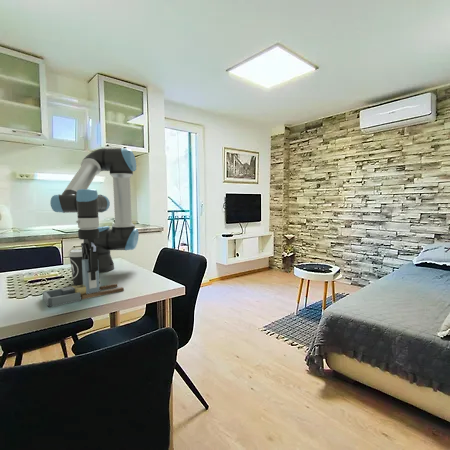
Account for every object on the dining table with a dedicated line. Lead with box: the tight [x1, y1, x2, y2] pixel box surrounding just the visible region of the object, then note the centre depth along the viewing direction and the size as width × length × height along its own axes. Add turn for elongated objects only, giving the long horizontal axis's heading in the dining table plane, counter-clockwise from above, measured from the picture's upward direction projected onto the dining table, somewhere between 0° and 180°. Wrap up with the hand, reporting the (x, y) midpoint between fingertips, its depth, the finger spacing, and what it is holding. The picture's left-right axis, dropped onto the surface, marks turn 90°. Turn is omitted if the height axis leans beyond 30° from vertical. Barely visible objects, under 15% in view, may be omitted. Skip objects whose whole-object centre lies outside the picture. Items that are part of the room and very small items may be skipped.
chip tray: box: [42, 287, 82, 308], centre depth 111 cm, size 11×10×3 cm
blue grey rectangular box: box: [82, 259, 101, 294], centre depth 117 cm, size 4×5×13 cm
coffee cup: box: [68, 248, 83, 286], centre depth 134 cm, size 10×10×15 cm
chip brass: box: [72, 285, 86, 299], centre depth 115 cm, size 4×4×4 cm
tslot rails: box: [81, 283, 125, 300], centre depth 120 cm, size 8×16×1 cm, turn 131°
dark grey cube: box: [60, 285, 75, 296], centre depth 112 cm, size 4×4×4 cm
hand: (91, 286), depth 118 cm, fingers closed on blue grey rectangular box, 4 cm apart
